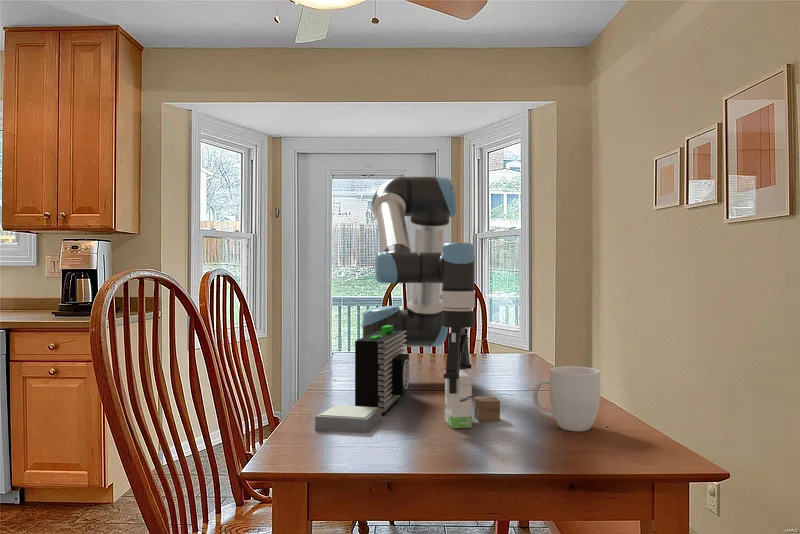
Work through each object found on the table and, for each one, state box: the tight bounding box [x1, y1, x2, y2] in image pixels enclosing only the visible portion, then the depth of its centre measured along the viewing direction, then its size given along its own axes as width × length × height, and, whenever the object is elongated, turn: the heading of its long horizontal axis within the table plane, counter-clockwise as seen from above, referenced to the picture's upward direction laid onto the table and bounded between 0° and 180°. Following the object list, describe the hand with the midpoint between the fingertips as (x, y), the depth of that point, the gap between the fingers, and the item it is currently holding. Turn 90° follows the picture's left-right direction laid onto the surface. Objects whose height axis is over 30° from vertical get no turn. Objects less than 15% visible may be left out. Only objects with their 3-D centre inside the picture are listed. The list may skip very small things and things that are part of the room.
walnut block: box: [473, 396, 501, 423], centre depth 155 cm, size 5×5×5 cm
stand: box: [314, 404, 383, 434], centre depth 150 cm, size 12×12×3 cm
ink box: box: [444, 370, 473, 429], centre depth 151 cm, size 9×5×12 cm, turn 7°
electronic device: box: [354, 325, 411, 417], centre depth 172 cm, size 28×11×20 cm, turn 168°
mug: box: [532, 365, 601, 432], centre depth 148 cm, size 15×11×13 cm
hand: (458, 402), depth 150 cm, fingers open, 13 cm apart
